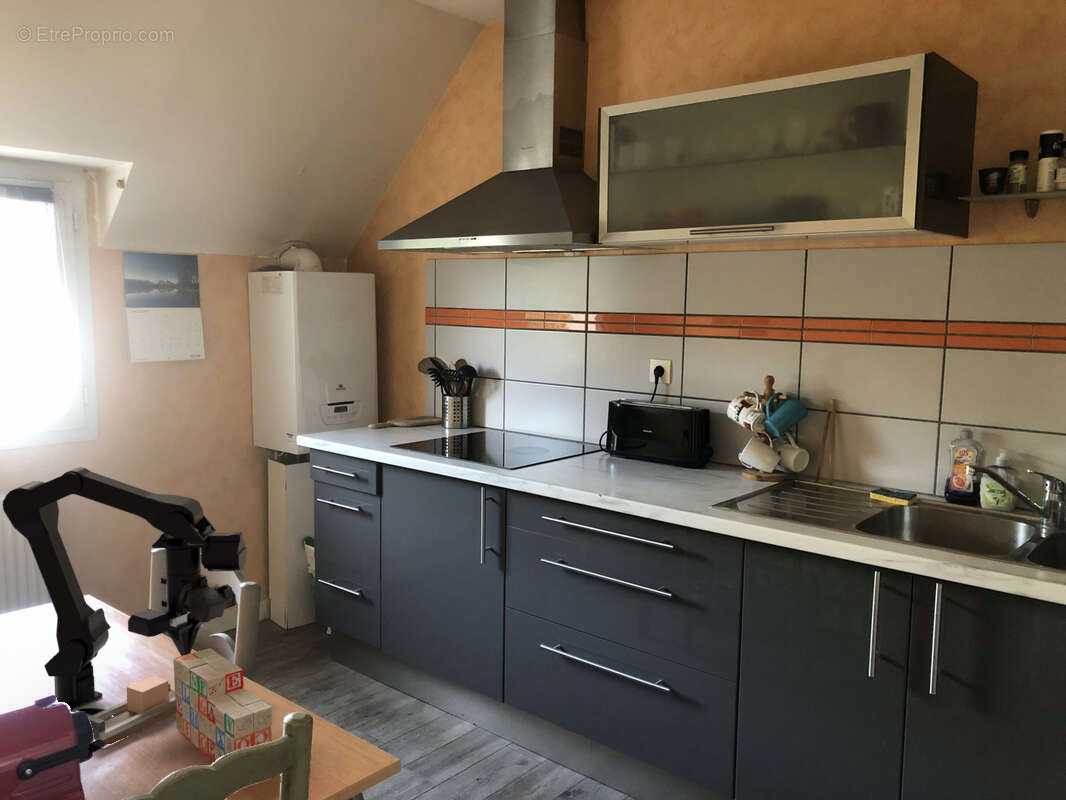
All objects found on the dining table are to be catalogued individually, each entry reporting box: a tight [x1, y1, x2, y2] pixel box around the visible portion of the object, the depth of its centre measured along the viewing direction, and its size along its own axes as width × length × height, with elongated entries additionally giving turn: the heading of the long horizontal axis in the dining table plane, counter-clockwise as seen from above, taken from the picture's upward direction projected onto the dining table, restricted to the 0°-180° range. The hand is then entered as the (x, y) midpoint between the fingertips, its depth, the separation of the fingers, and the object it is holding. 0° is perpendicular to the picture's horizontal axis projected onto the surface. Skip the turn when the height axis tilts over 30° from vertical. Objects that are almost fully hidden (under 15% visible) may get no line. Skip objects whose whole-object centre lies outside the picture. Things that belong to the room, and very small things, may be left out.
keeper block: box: [126, 675, 169, 714], centre depth 144 cm, size 4×5×4 cm
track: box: [85, 682, 176, 744], centre depth 142 cm, size 7×17×4 cm, turn 152°
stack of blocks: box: [173, 648, 273, 762], centre depth 134 cm, size 21×6×12 cm, turn 45°
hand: (185, 656), depth 150 cm, fingers closed
